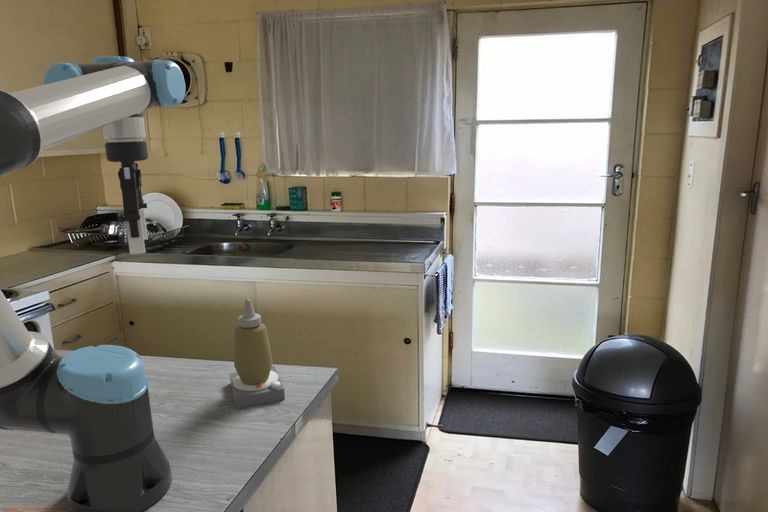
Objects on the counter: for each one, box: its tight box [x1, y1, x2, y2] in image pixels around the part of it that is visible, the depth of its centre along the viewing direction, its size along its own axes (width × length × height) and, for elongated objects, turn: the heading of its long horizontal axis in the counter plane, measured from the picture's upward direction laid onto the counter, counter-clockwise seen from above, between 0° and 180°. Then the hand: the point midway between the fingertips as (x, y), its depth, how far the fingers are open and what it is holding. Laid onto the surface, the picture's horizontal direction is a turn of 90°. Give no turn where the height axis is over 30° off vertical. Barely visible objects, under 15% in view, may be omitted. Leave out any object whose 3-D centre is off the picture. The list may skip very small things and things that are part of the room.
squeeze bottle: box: [233, 298, 274, 385], centre depth 120 cm, size 8×8×18 cm
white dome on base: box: [229, 365, 286, 409], centre depth 123 cm, size 12×10×3 cm
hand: (139, 246), depth 116 cm, fingers open, 13 cm apart
